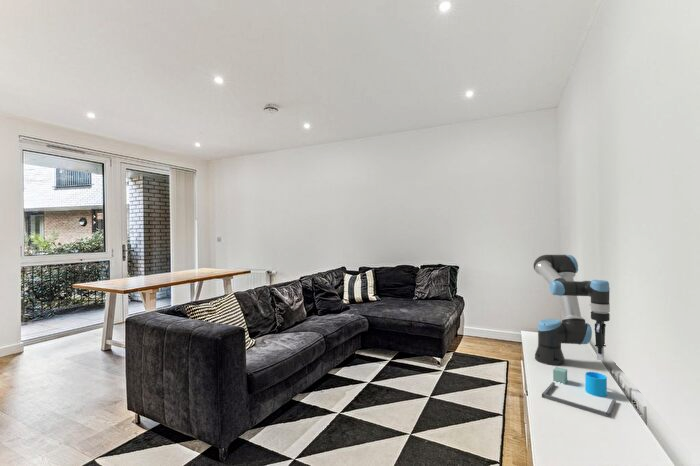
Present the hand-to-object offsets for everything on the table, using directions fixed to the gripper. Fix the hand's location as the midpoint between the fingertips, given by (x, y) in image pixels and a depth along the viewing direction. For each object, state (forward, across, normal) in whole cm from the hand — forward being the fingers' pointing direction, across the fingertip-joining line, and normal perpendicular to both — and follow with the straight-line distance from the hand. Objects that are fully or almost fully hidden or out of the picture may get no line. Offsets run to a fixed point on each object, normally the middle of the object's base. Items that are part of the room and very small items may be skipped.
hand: (600, 359), depth 172 cm
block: (+12, +9, -15) cm, 22 cm away
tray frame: (+12, +25, -4) cm, 28 cm away
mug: (+13, +10, 0) cm, 16 cm away
